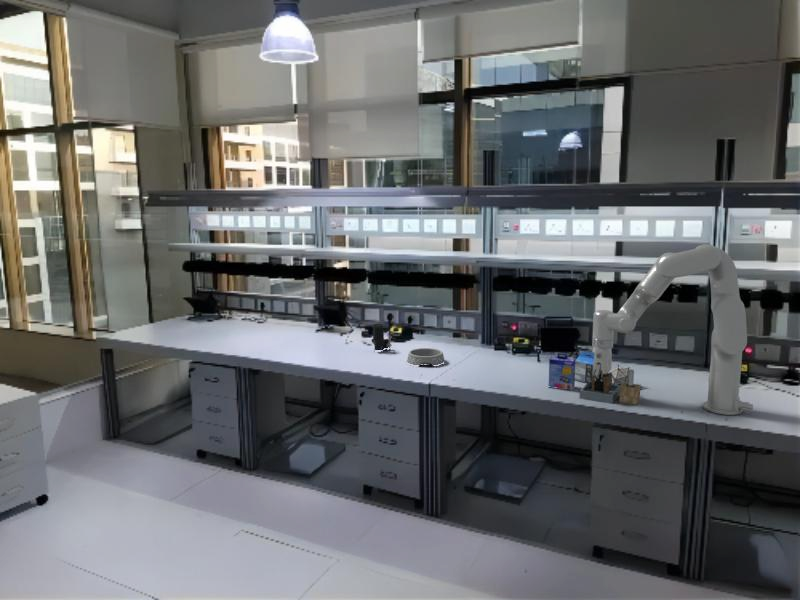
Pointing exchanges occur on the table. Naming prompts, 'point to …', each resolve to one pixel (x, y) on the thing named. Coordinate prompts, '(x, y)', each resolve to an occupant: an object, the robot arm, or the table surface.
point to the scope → (380, 338)
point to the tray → (599, 393)
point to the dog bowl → (425, 356)
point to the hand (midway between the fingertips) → (600, 388)
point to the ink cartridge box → (562, 372)
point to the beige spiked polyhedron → (620, 375)
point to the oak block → (630, 394)
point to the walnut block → (607, 382)
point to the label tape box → (584, 367)
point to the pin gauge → (630, 378)
